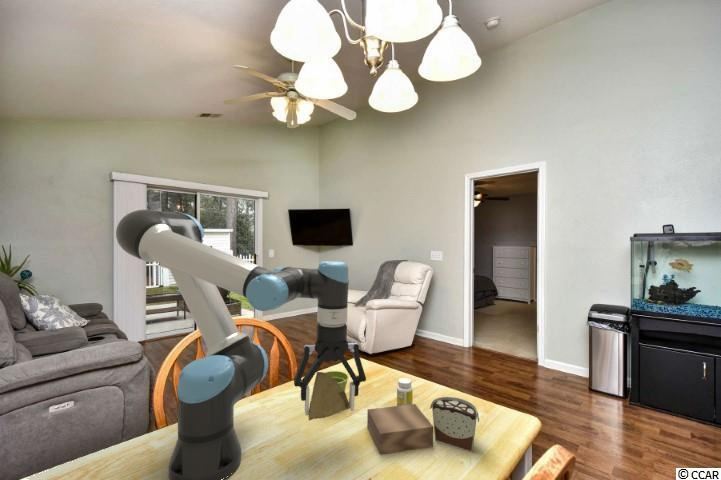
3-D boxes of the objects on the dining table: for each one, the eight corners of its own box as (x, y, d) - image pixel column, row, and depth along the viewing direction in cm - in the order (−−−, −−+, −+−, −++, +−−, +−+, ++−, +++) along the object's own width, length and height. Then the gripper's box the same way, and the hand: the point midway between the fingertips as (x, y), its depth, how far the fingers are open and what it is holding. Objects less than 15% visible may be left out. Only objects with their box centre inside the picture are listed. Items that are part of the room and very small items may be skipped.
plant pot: (345, 413, 103) (345, 384, 103) (314, 410, 104) (314, 381, 104) (351, 398, 112) (351, 371, 112) (322, 396, 114) (323, 369, 114)
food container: (483, 441, 89) (484, 403, 89) (478, 454, 84) (478, 413, 84) (437, 427, 95) (437, 391, 95) (429, 439, 90) (429, 401, 90)
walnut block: (380, 454, 84) (380, 433, 84) (367, 427, 95) (367, 409, 95) (433, 446, 87) (433, 426, 87) (414, 421, 99) (414, 403, 99)
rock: (352, 392, 93) (316, 385, 94) (355, 375, 88) (317, 368, 88) (345, 434, 85) (305, 426, 85) (347, 418, 79) (305, 410, 80)
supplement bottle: (412, 404, 109) (412, 377, 108) (412, 412, 104) (413, 384, 104) (396, 403, 109) (396, 377, 109) (396, 411, 104) (397, 383, 104)
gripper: (285, 329, 80) (282, 423, 81) (380, 325, 86) (377, 413, 86) (284, 320, 87) (282, 407, 88) (372, 318, 93) (369, 399, 93)
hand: (329, 410), depth 87 cm, fingers closed on rock, 11 cm apart
